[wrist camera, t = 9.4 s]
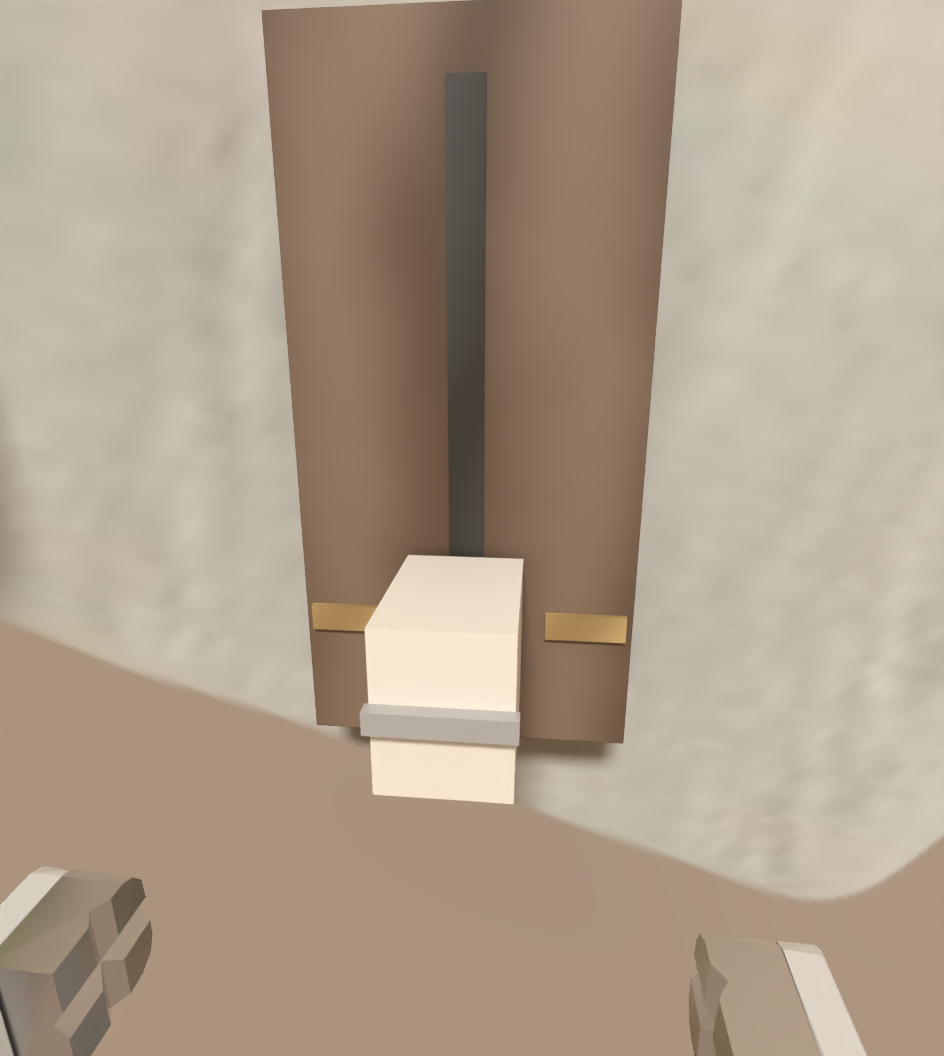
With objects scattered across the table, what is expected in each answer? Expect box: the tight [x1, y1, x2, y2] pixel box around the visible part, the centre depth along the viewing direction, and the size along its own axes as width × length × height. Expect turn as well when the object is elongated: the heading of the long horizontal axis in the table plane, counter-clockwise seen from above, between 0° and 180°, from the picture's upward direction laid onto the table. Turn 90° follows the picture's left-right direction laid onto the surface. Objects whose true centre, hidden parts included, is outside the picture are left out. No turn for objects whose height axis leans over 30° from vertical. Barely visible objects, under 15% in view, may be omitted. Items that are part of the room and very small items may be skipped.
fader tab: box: [360, 555, 523, 804], centre depth 17 cm, size 4×4×5 cm
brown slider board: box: [262, 0, 682, 743], centre depth 20 cm, size 10×20×3 cm, turn 0°
